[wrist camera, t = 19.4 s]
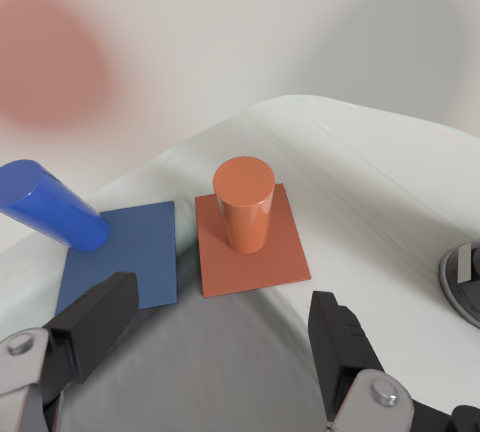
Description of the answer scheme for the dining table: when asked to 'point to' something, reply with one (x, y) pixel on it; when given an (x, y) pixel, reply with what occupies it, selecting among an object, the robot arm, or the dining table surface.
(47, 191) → the blue canister
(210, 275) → the terracotta mat
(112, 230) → the blue mat
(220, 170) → the terracotta canister
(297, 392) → the dining table surface
